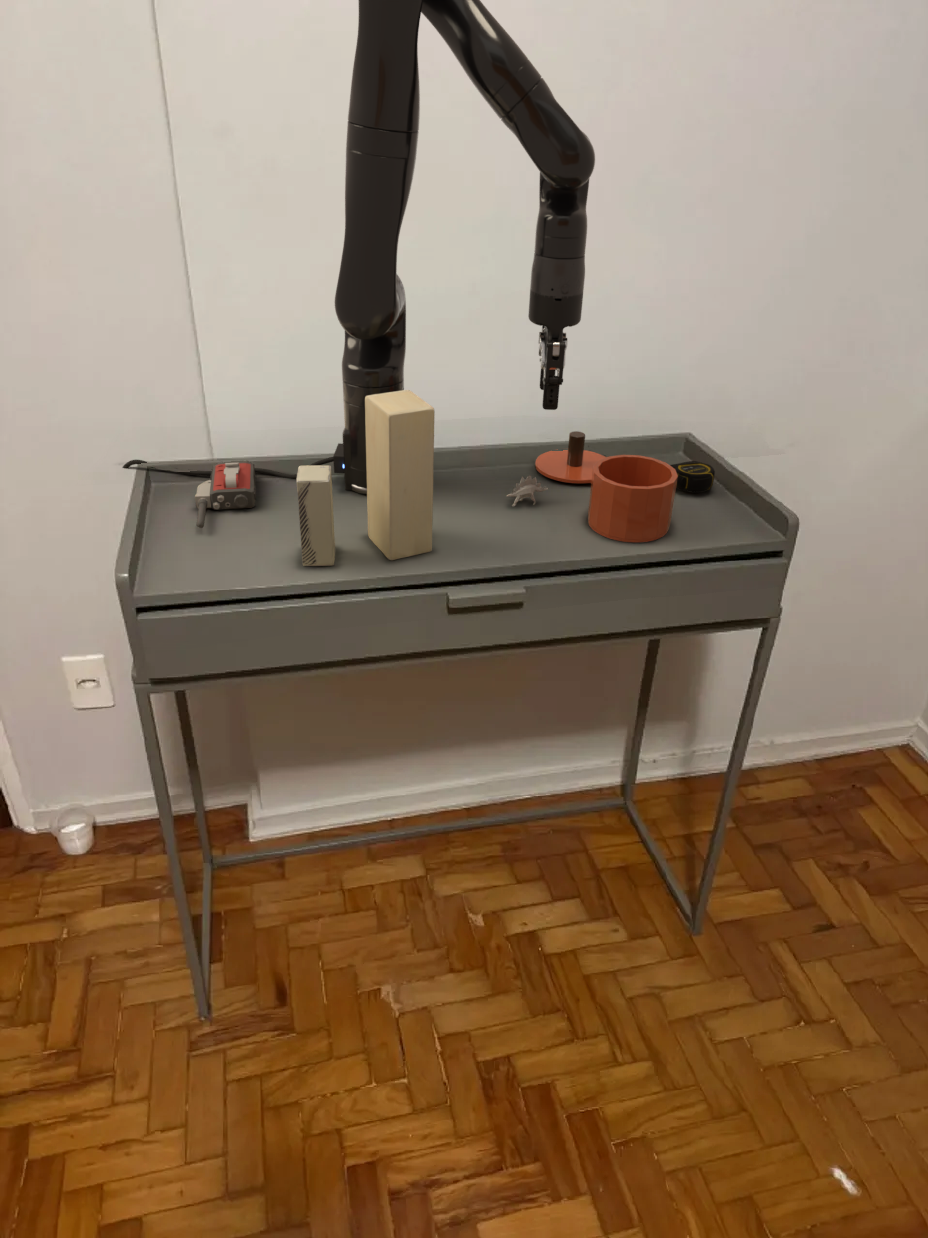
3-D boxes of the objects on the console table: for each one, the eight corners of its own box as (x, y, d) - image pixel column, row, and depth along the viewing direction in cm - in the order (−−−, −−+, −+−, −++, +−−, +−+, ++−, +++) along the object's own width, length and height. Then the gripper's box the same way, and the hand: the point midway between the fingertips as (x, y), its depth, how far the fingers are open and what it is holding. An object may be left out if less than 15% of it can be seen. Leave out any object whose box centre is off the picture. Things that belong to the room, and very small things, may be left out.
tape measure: (695, 477, 154) (698, 455, 152) (720, 493, 149) (724, 471, 147) (660, 483, 152) (663, 461, 150) (685, 500, 146) (688, 478, 144)
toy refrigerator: (438, 550, 131) (439, 406, 119) (390, 561, 128) (387, 415, 116) (413, 527, 136) (413, 387, 125) (367, 537, 134) (362, 395, 122)
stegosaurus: (550, 503, 144) (553, 475, 142) (508, 508, 142) (510, 480, 140) (544, 496, 146) (546, 469, 144) (503, 501, 144) (504, 474, 142)
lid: (536, 485, 150) (538, 448, 146) (533, 453, 161) (536, 418, 157) (617, 488, 150) (621, 450, 146) (609, 456, 161) (613, 421, 157)
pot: (591, 541, 134) (597, 486, 130) (585, 504, 144) (590, 453, 140) (674, 544, 134) (683, 489, 129) (662, 507, 144) (670, 456, 139)
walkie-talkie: (201, 477, 149) (193, 535, 133) (197, 451, 147) (189, 507, 131) (257, 474, 151) (256, 531, 134) (254, 449, 148) (253, 503, 132)
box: (304, 549, 130) (297, 463, 123) (336, 548, 130) (331, 463, 123) (302, 568, 126) (295, 480, 119) (335, 567, 126) (329, 479, 119)
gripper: (528, 274, 137) (521, 382, 146) (532, 299, 125) (524, 415, 134) (579, 276, 137) (569, 384, 146) (588, 301, 125) (577, 416, 134)
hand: (548, 398), depth 140 cm, fingers open, 8 cm apart
